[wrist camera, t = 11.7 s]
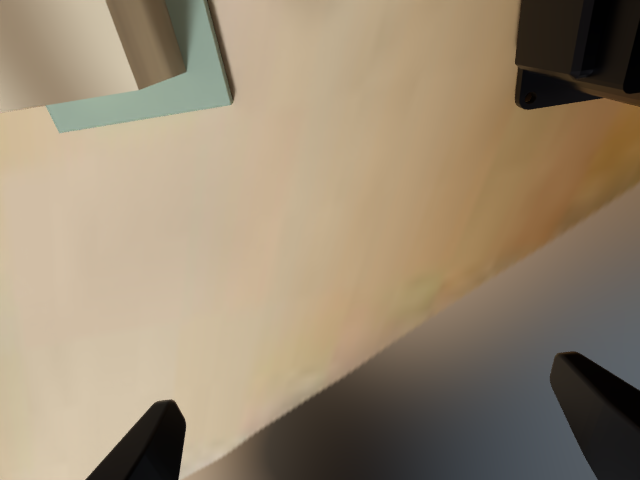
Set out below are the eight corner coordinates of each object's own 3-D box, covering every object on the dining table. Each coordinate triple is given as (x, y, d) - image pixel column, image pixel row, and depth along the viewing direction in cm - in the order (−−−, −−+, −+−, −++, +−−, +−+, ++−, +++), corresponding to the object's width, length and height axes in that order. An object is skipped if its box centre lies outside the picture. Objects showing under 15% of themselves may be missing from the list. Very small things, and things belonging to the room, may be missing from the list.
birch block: (140, -81, 13) (55, -134, 9) (186, 71, 15) (138, 90, 11) (7, -56, 13) (-139, -94, 9) (74, 90, 16) (-15, 115, 11)
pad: (171, -138, 13) (165, -145, 12) (233, 102, 17) (230, 105, 16) (-44, -94, 13) (-59, -99, 13) (67, 129, 17) (59, 133, 17)
